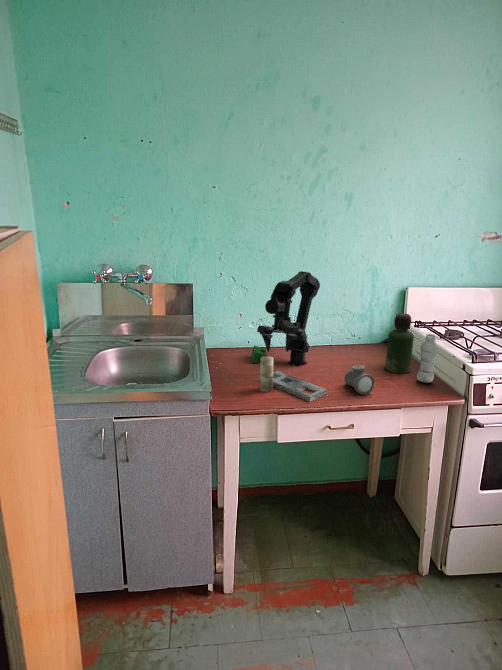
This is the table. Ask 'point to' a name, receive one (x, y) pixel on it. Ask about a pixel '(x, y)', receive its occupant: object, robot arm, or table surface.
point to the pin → (266, 374)
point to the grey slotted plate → (297, 386)
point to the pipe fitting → (359, 379)
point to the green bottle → (400, 345)
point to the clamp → (257, 354)
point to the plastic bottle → (427, 359)
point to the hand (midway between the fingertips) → (277, 351)
